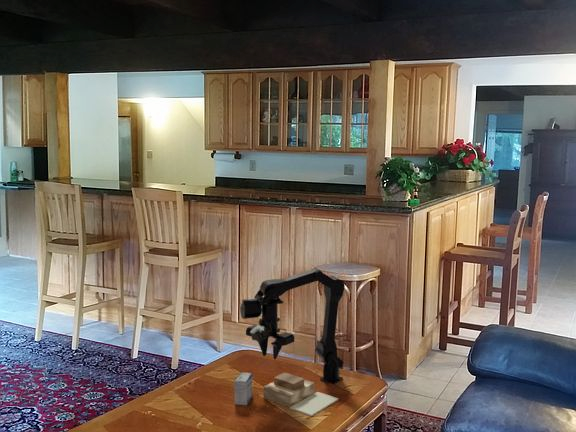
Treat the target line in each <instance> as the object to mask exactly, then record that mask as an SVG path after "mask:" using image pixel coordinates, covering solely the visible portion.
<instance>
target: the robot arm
mask: <svg viewBox="0 0 576 432" xmlns="http://www.w3.org/2000/svg"><path fill="white" fill-rule="evenodd" d="M314 282H318V283H320V284H322V285H323V292H324V293H323V294H324V297H325V308H324V318H323V328H322V336H321V339H319V340H316V347H315V349H314V351H315V352H316V355H317V357H319V358H320V359H321V362H323V363H324V364H323V371H322V372H323V373H322V375H323V376H322V377H320V379H319V380H320V381H322V382H326V383H328V384H333V385H335V384H336V383H339V382H341V381H342V380H343V379H344V377H342V376H340V374H341V373H340V368H342V367H343V365H344V361H343V360H342V359H341V358H340V357H339V356H338V347H337V343H336V330H337V320H338V310H339V302H340V300H341V299H342V297H343V295H344V291H345V288H346V287H345V283H344V281H343V280H341V279H340V278H337V277H336V276H334V275H327V274H325V273H324V272H322V271H321V270H320V269H318V268H312V269H310V270H307V271H304V272H300V273H297V274H294V275H292V276H288V277H286V278H285V277H284V278H281V279H280V278H279V279H278V278H273V279H267V280H264V281H262V282H261V284H260V286H259V289H258V291H257V293H256V294H255V295H254V296H253V298H250V299H248V298H243V299H242V300H241V305H240V308H239V310H240V316H241V318H242V319H243V320H247V319H248V320H249V319H255V318H259V320H258V324H253V325H250V326H248V327H246V330H245V335H246V336H248V337H251V339H252V341H256V342H257V343H258V346H259V348H260V351H261V354H262V356H263V357H265V356H267V352H268V344H269V338H271V339H274V341H273V342H270V344H271V346H272V355H273V356H272V357H273V360H276V359H277V357H278V356H279V353H280V351H281V350H282V347H283V346H288V345H290V344H292V343H294V342H295V334H293V333H291V332H289V333H288V332H283V333H280V332H281V328H279V327H278V326H279V325H278V324H279V323H278V322H280V320H281V318H280V317H278V311H279V310H278V305H279V304H284V301H283V300H282V299H281V297H282V296H283V295H284V294H285V293H286V292H288V291H291V290H294V289H296V288H299V287H302V286H305V285H309V284H312V283H314ZM260 317H261V318H260ZM279 333H280V334H279Z"/></svg>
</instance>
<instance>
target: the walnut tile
mask: <svg viewBox="0 0 576 432" xmlns="http://www.w3.org/2000/svg"><path fill="white" fill-rule="evenodd" d="M304 380H305V378H303V377H300V376H298V375H293V374H291V373H288V372H285V371H284V372H282V373H280V374H278V375H277V376H275V377H273V382H274V384H275V385H278V386H281V387H284V388H287V389H290V390H293V391H295V390H297V389H298V388H300V387H302V386H304Z"/></svg>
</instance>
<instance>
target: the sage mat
mask: <svg viewBox="0 0 576 432" xmlns="http://www.w3.org/2000/svg"><path fill="white" fill-rule="evenodd" d="M338 401H339V398H338V397H335V396H332V395H329V394H325V393H324V392H319V391H316V392H314V394H312V395H310V396H309V397H307V398H305V399H303V400H302V401H300V402H298V403H296V404H295V405H293V406H291V407H289V408H290V410H293V411H296V412H298V413H301V414H304V415H307V416H310V417H313V416H315V415H316V414H318V413H319V412H321V411H323V410H325V409H326V408H328V407H329V406H331V405H333V404H334V403H336V402H338Z"/></svg>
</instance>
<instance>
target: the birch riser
mask: <svg viewBox="0 0 576 432" xmlns="http://www.w3.org/2000/svg"><path fill="white" fill-rule="evenodd" d="M313 394H315V382H313V381H311V380H307V379H304V386H302V387H300V388H298V389H297V390H295V391H293V390H290V389H287V388H284V387H281V386H278V385H275V384H274V381H273V382H270V383H269V384H267V385H264V386H263V399H267V400H269V401H272V402H275V403H278V404H281V405H284V406H286V407H289V408H290V407H292V406H293V405H295V404H297V403H299V402H300V401H302V400H304V399H306V398H308V397H309V396H311V395H313Z"/></svg>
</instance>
